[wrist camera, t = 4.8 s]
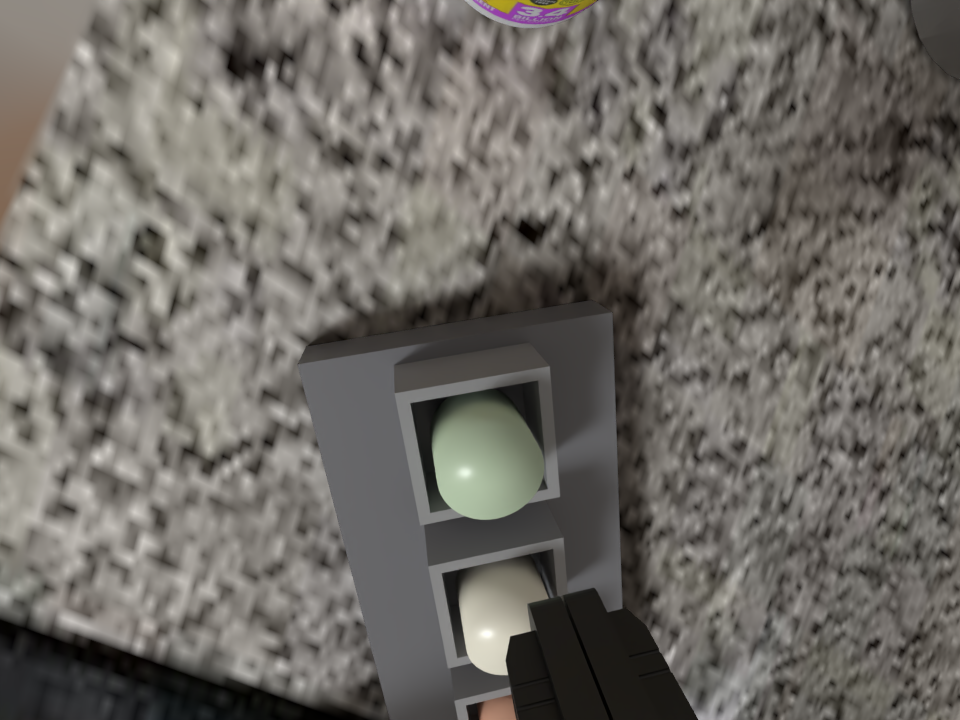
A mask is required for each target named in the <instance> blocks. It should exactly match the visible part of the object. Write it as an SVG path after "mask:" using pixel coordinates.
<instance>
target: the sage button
mask: <svg viewBox="0 0 960 720" xmlns="http://www.w3.org/2000/svg"><path fill="white" fill-rule="evenodd" d="M430 440H431V447H432V453H433V460H434V466H435V472H436V479H437V485H438V489H439V491H440V494H441V496H442V498H443V499H444V501H445V502H446V503H447V504H448V506H450V507H451V508H452V509H453V510H454V511H456V512H457V513H459V514H461V515H463V516H466V517H469V518H473V519H480V520H491V519H497V518H501V517H505V516H507V515H510V514H512V513H514V512H516V511H518V510H519V509H521V508H522V507H523V506H525V505H526V504H527V503H528V502H529V501H530V500H531V499H532V498H533V496H534V495H535V494H536V492H537V491H538V489H539V487H540V485H541V482H542V479H543V475H544V459H543V455H542V452H541V450H540V448H539V446H538V444H537V442H536V440H535V438H534V437H533V435H532V433H531V431H530V429H529V428H528V426H527V424H526V422H525V420H524V419H523V417H522V415H521V413H520V412H519V410H518V408H517V406H516V405H515V403H514V402H513V401H512V400H511V399H510V398H509V397H508V396H507V395H505V394H504V393H502V392H500V391H498V390H495V389H487V390H481V391H476V392H470V393H465V394H459V395H453V396H450V397H448V398H447V399H446V400H445V401H443V402H442V404H441V405H440V406H439V407H438V409H437V410H436V412H435V414H434V416H433V418H432V421H431V425H430Z"/></svg>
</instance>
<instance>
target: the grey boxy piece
mask: <svg viewBox="0 0 960 720" xmlns="http://www.w3.org/2000/svg"><path fill="white" fill-rule="evenodd" d="M298 368H299V372H300V376H301V380H302V383H303V387H304V391H305V395H306V399H307V403H308V406H309V410H310V414H311V418H312V422H313V426H314V430H315V433H316V437H317V441H318V445H319V449H320V453H321V457H322V460H323V464H324V468H325V472H326V476H327V480H328V484H329V487H330V491H331V495H332V499H333V503H334V507H335V510H336V514H337V518H338V522H339V526H340V530H341V534H342V537H343V541H344V545H345V549H346V553H347V557H348V561H349V564H350V568H351V572H352V576H353V580H354V584H355V587H356V591H357V595H358V599H359V603H360V607H361V611H362V614H363V618H364V622H365V626H366V630H367V634H368V638H369V641H370V645H371V649H372V653H373V657H374V661H375V664H376V668H377V672H378V676H379V680H380V684H381V688H382V691H383V695H384V699H385V703H386V707H387V711H388V715H389V718H390V720H479V716H478V710H477V704H476V703H478V702H482V701H486V700H491V699H495V698H499V697H503V696H507V695H511V689H510V684H509V678H508V675H494V674H490V673H487V672H484V671H482V670H481V669H479V668H478V667H476V666H475V665H474V664H473V663H472V662H471V660H470V659H469V656H468V654H467V650H466V645H465V638H464V632H463V626H462V620H461V614H460V608H459V602H458V596H457V590H456V578H457V574H458V572H459V570H460V569H463V568H468V567H473V566H477V565H482V564H487V563H491V562H496V561H500V560H505V559H510V558H514V557H519V556H524V555H528V554H529V555H530V556H531V557H532V558H533V560H534V561H535V564H536V566H537V569H538V571H539V574H540V577H541V579H542V582H543V585H544V587H545V590H546V592H547V595H548V598H553V597H557V596H560V597H561V596H562V595H565V594H569V593H573V592H577V591H581V590H586V589H590V588H595V589H596V590H597V592H598V594H599V596H600V598H601V600H602V602H603V604H604V606H605V608H606V610H607V612H611V611H615V610H619V609H622V581H621V551H620V522H619V492H618V463H617V433H616V403H615V374H614V344H613V315H612V312H611V311H610V310H608V309H606V308H605V307H603V306H601V305H600V304H598V303H596V302H595V301H593V300H589V301H583V302H577V303H570V304H564V305H558V306H552V307H546V308H540V309H534V310H527V311H521V312H515V313H509V314H503V315H497V316H490V317H484V318H478V319H472V320H466V321H460V322H454V323H447V324H441V325H435V326H429V327H423V328H417V329H410V330H404V331H398V332H392V333H386V334H380V335H373V336H367V337H361V338H355V339H349V340H343V341H337V342H330V343H324V344H318V345H312V346H306V348H305V350H304V352H303V354H302V357H301V359H300V361H299V363H298ZM487 389H495V390H498V391H500V392H502V393H504V394H505V395H507V396H508V397H509V398H510V399H511V400H512V401H513V402H514V403H515V405H516V406H517V408H518V410H519V412H520V413H521V415H522V417H523V419H524V420H525V422H526V424H527V426H528V428H529V429H530V431H531V433H532V435H533V437H534V438H535V440H536V442H537V444H538V446H539V448H540V450H541V452H542V455H543V459H544V475H543V479H542V482H541V485H540V487H539V489H538V491H537V492H536V494H535V495H534V496H533V498H532V499H531V500H530V501H529V502H528V503H527V504H526V505H525V506H523V507H522V508H521V509H519V510H518V511H516V512H514V513H512V514H510V515H507V516H505V517H501V518H497V519H491V520H480V519H473V518H469V517H466V516H463V515H461V514H459V513H457V512H456V511H454V510H453V509H452V508H451V507H450V506H448V504H447V503H446V502H445V501H444V499H443V498H442V496H441V494H440V491H439V489H438V485H437V479H436V472H435V466H434V460H433V453H432V447H431V440H430V425H431V421H432V418H433V416H434V414H435V412H436V410H437V409H438V407H439V406H440V405H441V404H442V402H443V401H445V400H446V399H447V398H448V397H450V396H453V395H459V394H465V393H470V392H476V391H481V390H487Z"/></svg>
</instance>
